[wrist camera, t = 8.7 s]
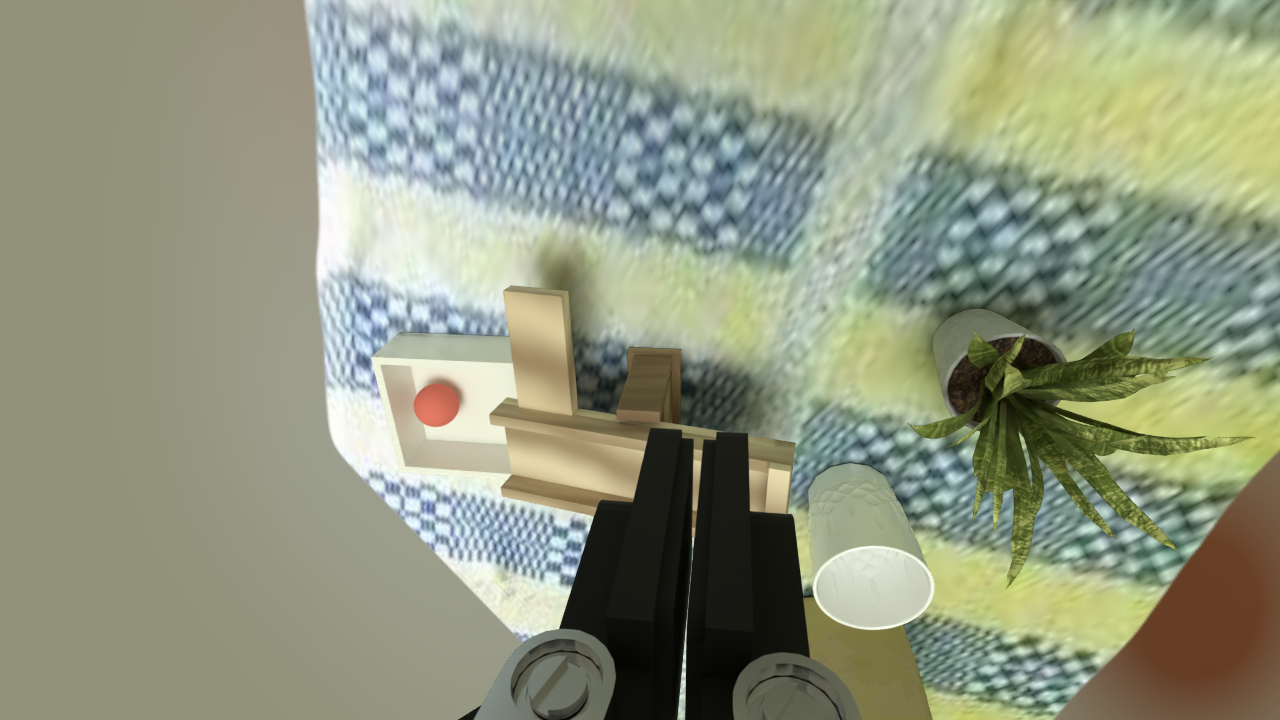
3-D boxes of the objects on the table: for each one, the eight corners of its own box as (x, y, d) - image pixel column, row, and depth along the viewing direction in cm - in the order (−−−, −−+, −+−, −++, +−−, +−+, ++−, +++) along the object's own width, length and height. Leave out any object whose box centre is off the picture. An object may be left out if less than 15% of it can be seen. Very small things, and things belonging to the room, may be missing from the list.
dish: (400, 332, 49) (371, 356, 45) (546, 338, 47) (528, 364, 43) (424, 440, 54) (399, 471, 50) (557, 449, 52) (542, 482, 48)
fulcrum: (629, 347, 47) (606, 407, 39) (681, 349, 46) (669, 411, 38) (633, 449, 51) (613, 523, 43) (680, 452, 50) (669, 527, 43)
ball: (464, 384, 48) (440, 371, 50) (424, 402, 46) (401, 388, 48) (470, 422, 50) (447, 407, 52) (432, 440, 48) (410, 425, 50)
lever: (501, 276, 40) (464, 299, 37) (811, 305, 34) (804, 336, 31) (526, 467, 47) (498, 502, 44) (787, 518, 41) (780, 563, 38)
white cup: (813, 539, 53) (828, 637, 44) (789, 467, 50) (800, 557, 41) (908, 522, 50) (944, 622, 42) (889, 446, 47) (923, 536, 39)
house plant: (1049, 449, 46) (1192, 633, 31) (858, 434, 47) (910, 602, 33) (1116, 266, 39) (1337, 392, 25) (892, 258, 41) (976, 370, 26)
